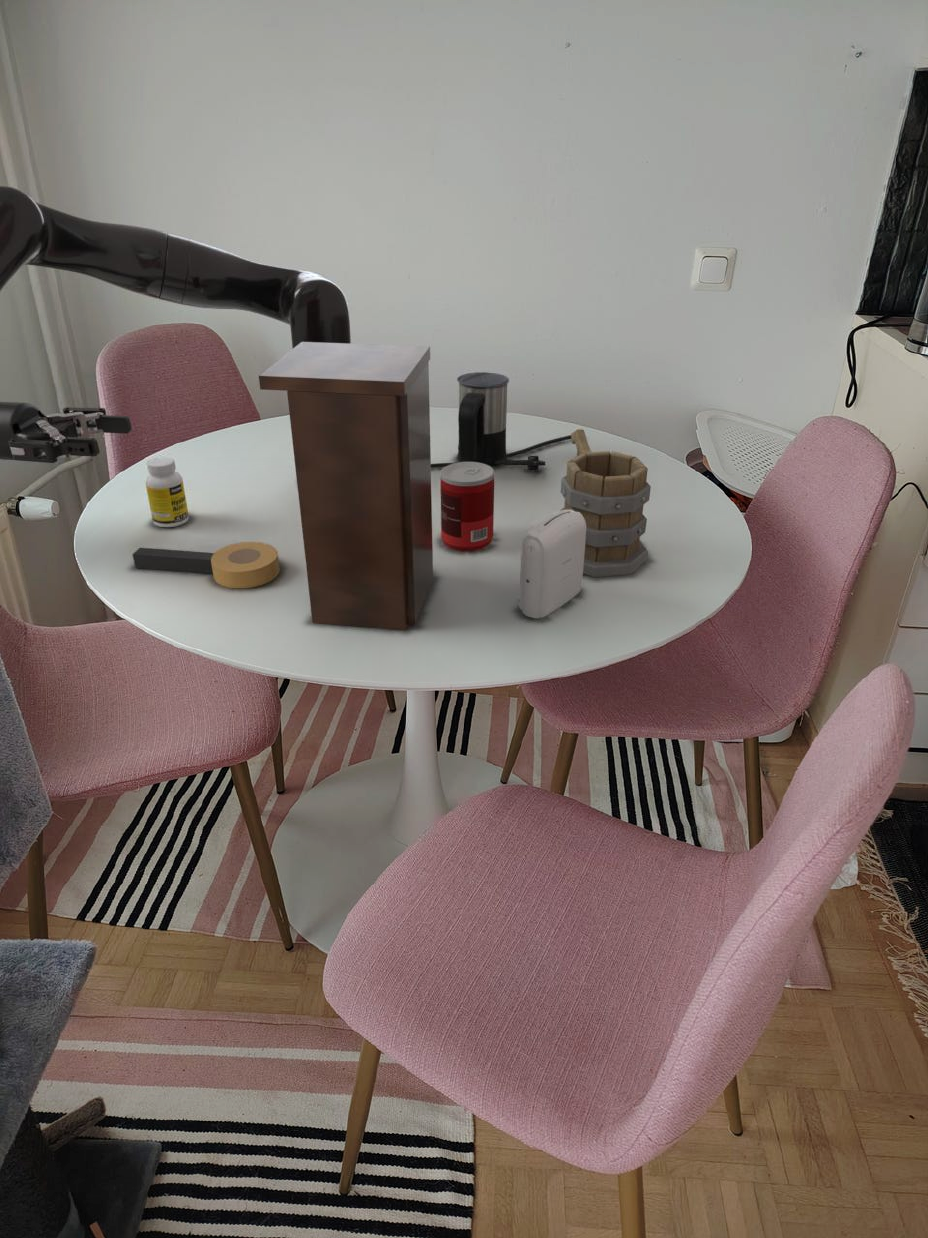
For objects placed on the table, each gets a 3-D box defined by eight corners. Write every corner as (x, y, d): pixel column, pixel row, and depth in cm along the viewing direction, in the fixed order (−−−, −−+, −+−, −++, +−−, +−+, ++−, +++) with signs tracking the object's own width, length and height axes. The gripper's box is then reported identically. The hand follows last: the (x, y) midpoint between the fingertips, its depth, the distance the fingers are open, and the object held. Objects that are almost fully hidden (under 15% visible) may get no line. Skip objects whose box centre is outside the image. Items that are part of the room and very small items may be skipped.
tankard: (656, 573, 119) (669, 471, 111) (568, 580, 117) (575, 477, 109) (611, 513, 136) (620, 421, 128) (534, 519, 134) (538, 426, 126)
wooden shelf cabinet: (289, 621, 108) (258, 375, 92) (323, 565, 121) (301, 341, 104) (413, 631, 106) (404, 381, 90) (434, 573, 119) (430, 346, 102)
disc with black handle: (288, 560, 122) (286, 543, 121) (266, 591, 114) (264, 573, 113) (153, 550, 125) (150, 534, 123) (123, 579, 117) (119, 562, 116)
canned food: (499, 533, 130) (501, 464, 124) (483, 556, 123) (484, 484, 117) (452, 526, 132) (451, 458, 126) (433, 548, 125) (432, 477, 119)
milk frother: (457, 450, 160) (457, 370, 152) (542, 451, 159) (546, 371, 151) (454, 479, 148) (454, 394, 140) (546, 480, 147) (550, 395, 139)
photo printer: (540, 623, 107) (546, 534, 101) (513, 612, 110) (517, 524, 103) (586, 592, 114) (593, 507, 108) (559, 582, 116) (565, 498, 110)
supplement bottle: (179, 529, 131) (167, 469, 125) (146, 526, 131) (134, 466, 126) (195, 515, 135) (185, 456, 130) (164, 512, 136) (152, 453, 131)
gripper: (-45, 420, 105) (78, 425, 103) (22, 386, 117) (133, 390, 115) (-26, 477, 109) (92, 484, 107) (37, 439, 121) (145, 444, 119)
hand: (113, 435), depth 111 cm, fingers open, 8 cm apart
